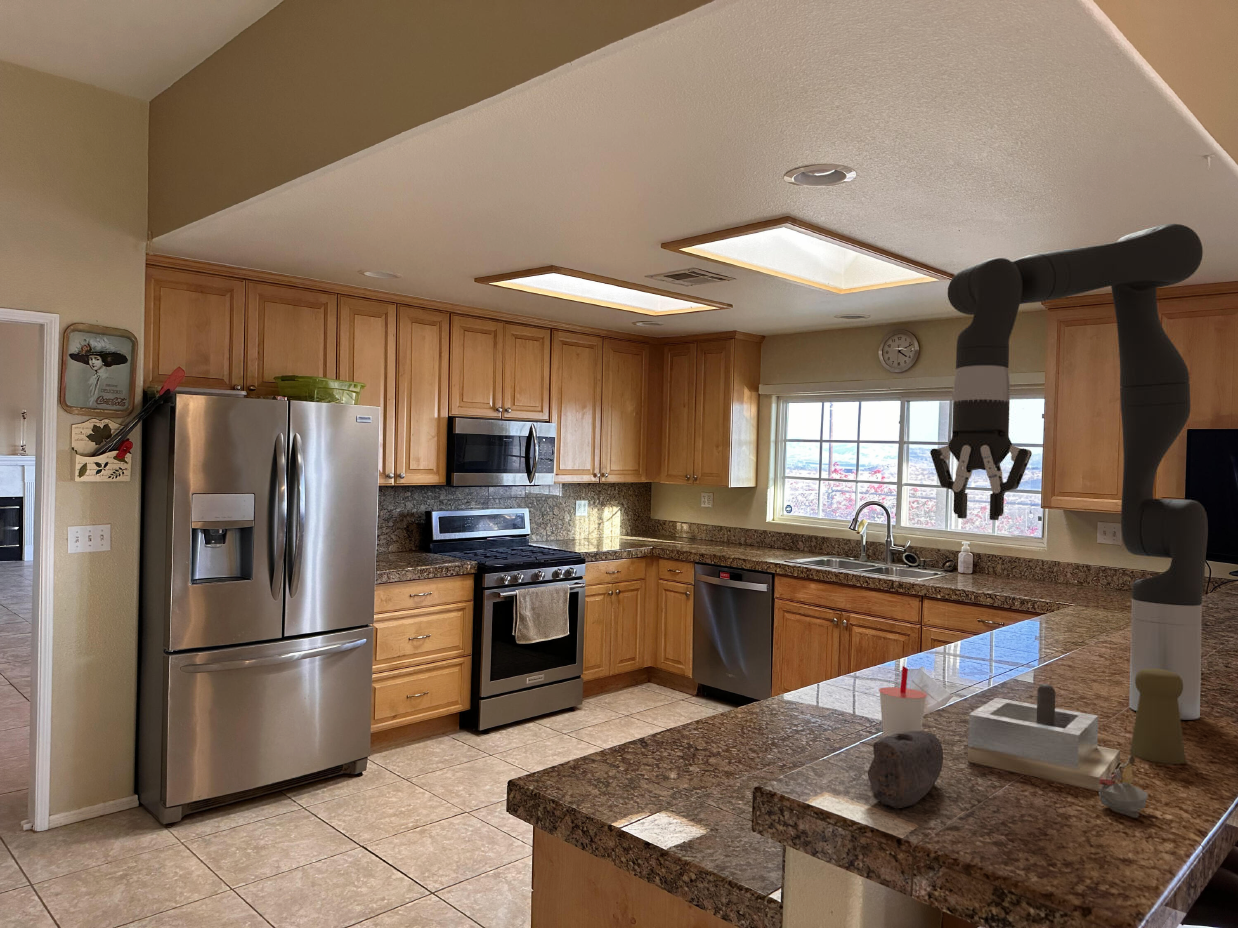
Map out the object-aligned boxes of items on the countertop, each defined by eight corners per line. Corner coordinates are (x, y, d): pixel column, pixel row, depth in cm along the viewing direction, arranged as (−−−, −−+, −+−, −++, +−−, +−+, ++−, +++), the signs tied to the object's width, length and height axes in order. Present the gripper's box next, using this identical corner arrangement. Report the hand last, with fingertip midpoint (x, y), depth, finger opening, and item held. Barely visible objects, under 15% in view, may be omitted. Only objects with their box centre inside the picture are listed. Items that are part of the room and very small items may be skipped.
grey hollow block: (995, 727, 113) (996, 697, 113) (1097, 747, 105) (1098, 715, 105) (968, 746, 103) (969, 713, 103) (1077, 770, 96) (1078, 734, 96)
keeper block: (999, 737, 113) (1001, 666, 113) (1119, 762, 104) (1121, 685, 105) (968, 761, 102) (970, 682, 103) (1098, 790, 93) (1100, 704, 94)
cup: (921, 764, 100) (924, 663, 101) (927, 779, 95) (930, 672, 96) (874, 759, 102) (877, 659, 102) (878, 773, 96) (881, 668, 97)
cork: (1194, 765, 104) (1196, 676, 105) (1140, 760, 105) (1142, 672, 106) (1172, 751, 110) (1174, 666, 110) (1122, 746, 111) (1124, 663, 112)
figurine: (1144, 824, 84) (1145, 764, 84) (1094, 813, 87) (1095, 754, 87) (1150, 809, 88) (1151, 752, 89) (1102, 799, 91) (1103, 743, 91)
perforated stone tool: (914, 774, 97) (916, 713, 97) (960, 786, 93) (962, 723, 94) (854, 807, 86) (856, 738, 86) (904, 822, 82) (906, 751, 83)
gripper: (1040, 401, 120) (1037, 521, 119) (939, 404, 129) (936, 516, 128) (1027, 395, 114) (1024, 522, 114) (922, 399, 123) (919, 516, 123)
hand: (977, 518), depth 121 cm, fingers open, 4 cm apart
